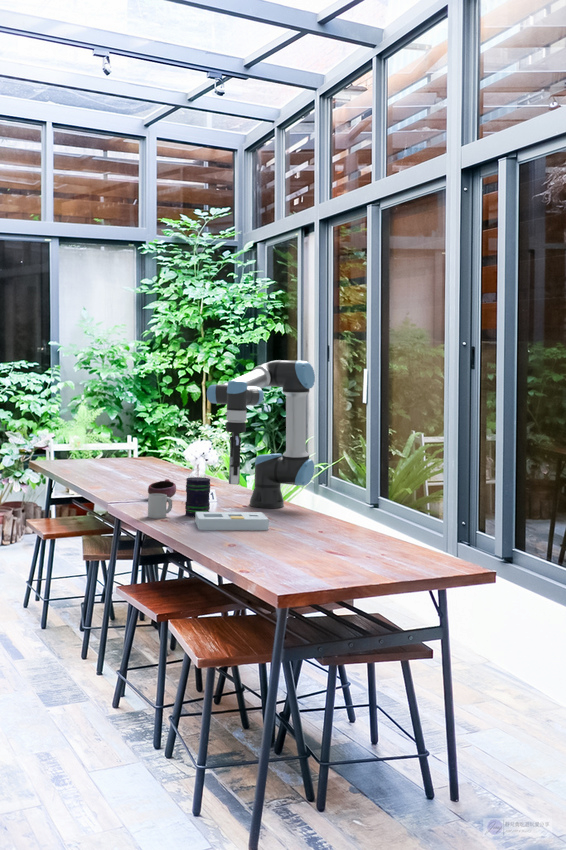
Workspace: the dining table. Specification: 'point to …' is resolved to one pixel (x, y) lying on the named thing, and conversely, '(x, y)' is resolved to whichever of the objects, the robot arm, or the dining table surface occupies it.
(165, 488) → the bowl
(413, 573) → the dining table surface
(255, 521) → the block
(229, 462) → the grey rounded cylinder
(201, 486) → the storage jar
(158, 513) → the cup
